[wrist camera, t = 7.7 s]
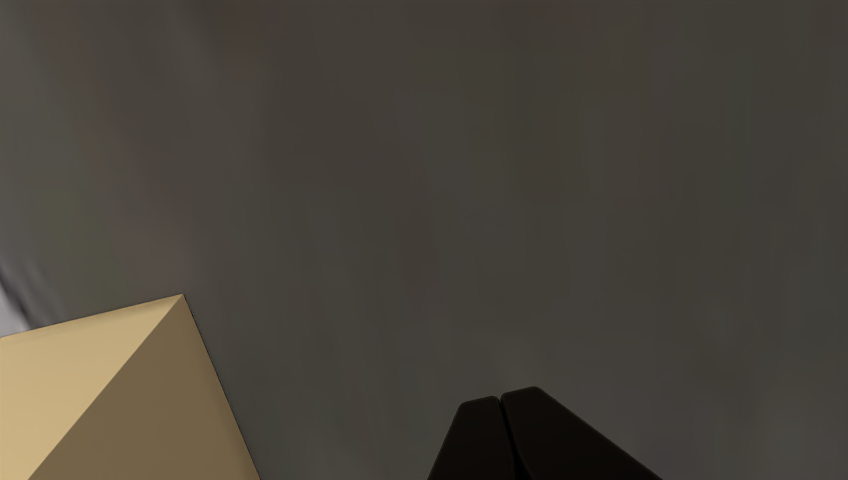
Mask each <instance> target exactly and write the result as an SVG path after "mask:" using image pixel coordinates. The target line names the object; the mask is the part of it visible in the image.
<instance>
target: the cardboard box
mask: <svg viewBox="0 0 848 480" xmlns="http://www.w3.org/2000/svg"><path fill="white" fill-rule="evenodd" d="M0 480H260V478H259V476H258V473H257V471H256V468H255V466H254V464H253V461H252V459H251V456H250V454H249V451H248V449H247V447H246V444H245V442H244V439H243V437H242V435H241V432H240V430H239V427H238V425H237V423H236V420H235V418H234V415H233V413H232V410H231V408H230V406H229V403H228V401H227V398H226V396H225V394H224V391H223V389H222V386H221V384H220V382H219V379H218V377H217V374H216V372H215V370H214V367H213V365H212V362H211V360H210V357H209V355H208V353H207V350H206V348H205V345H204V343H203V341H202V338H201V336H200V333H199V331H198V329H197V326H196V324H195V321H194V319H193V317H192V314H191V312H190V309H189V307H188V304H187V302H186V300H185V297H184V295H183V294H180V295H176V296H172V297H168V298H163V299H159V300H155V301H151V302H147V303H143V304H139V305H134V306H130V307H126V308H122V309H118V310H114V311H109V312H105V313H101V314H97V315H93V316H89V317H85V318H80V319H76V320H72V321H68V322H64V323H60V324H55V325H51V326H47V327H43V328H39V329H35V330H31V331H26V332H22V333H18V334H14V335H10V336H6V337H2V338H0Z"/></svg>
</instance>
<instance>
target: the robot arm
mask: <svg viewBox="0 0 848 480" xmlns="http://www.w3.org/2000/svg"><path fill="white" fill-rule="evenodd" d="M500 402H501V404H500ZM427 480H663V479H661V478H660V477H659V476H657V475H656V474H655V473H653V472H652V471H651V470H649V469H648V468H646V467H645V466H644V465H642V464H641V463H640V462H638V461H637V460H636V459H634V458H633V457H632V456H630V455H629V454H628V453H626V452H625V451H624V450H622V449H621V448H620V447H618V446H617V445H616V444H614V443H613V442H612V441H610V440H609V439H607V438H606V437H605V436H603V435H602V434H601V433H599V432H598V431H597V430H595V429H594V428H593V427H591V426H590V425H589V424H587V423H586V422H585V421H583V420H582V419H581V418H579V417H578V416H577V415H575V414H574V413H573V412H571V411H570V410H568V409H567V408H566V407H564V406H563V405H562V404H560V403H559V402H558V401H556V400H555V399H554V398H552V397H551V396H550V395H548V394H547V393H546V392H544V391H543V390H542V389H540V388H538V387H535V386H533V387H528V388H524V389H520V390H515V391H511V392H507V393H504V394H503V395H502V396H501V398H500V401H499V399H498V398H497V397H495V396H489V397H485V398H480V399H476V400H471V401H467V402H464V403H462V404H461V405H460V406H459V408H458V410H457V412H456V415H455V417H454V419H453V422H452V424H451V426H450V428H449V431H448V433H447V435H446V438H445V440H444V442H443V445H442V447H441V449H440V451H439V454H438V456H437V458H436V461H435V463H434V465H433V467H432V470H431V472H430V474H429V477H428V479H427Z"/></svg>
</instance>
